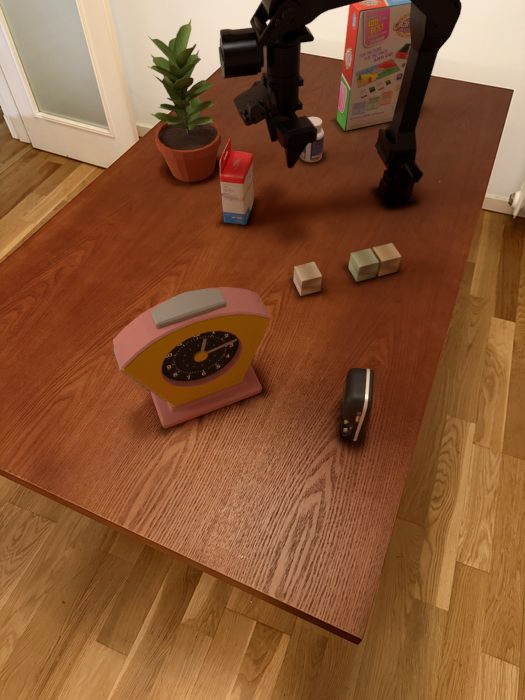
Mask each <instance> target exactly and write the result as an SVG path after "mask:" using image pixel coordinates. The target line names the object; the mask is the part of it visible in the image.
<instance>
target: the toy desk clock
mask: <svg viewBox="0 0 525 700" xmlns="http://www.w3.org/2000/svg"><path fill="white" fill-rule="evenodd" d="M271 320H272V316H271V314H270V313H269V311H268V309H267V307H266V306H265V303H264V302H263V301H262V298H261V297H260V295H259V293H258V292H257V291H253V290H249V289H246V288H242V287H241V288H240V287H234V286H233V287H232V286H219V287H217V286H216V287H208V288H207V287H206V288H202V289H195V290H189V291H185V292H182V293H180V294H177V295H174V296H173V297H170V298H168V299H166V300H164V301H161V302H159V303H157V304H155V305H154V306H152V307H150V308H149V309H147V310H145V311H143V312H142V313H140V314H139V315H138V316H137V317H135V319H134V318H133V320H132V321H131V322H129V323H128V324H127V325H126V326H125V327H123V328H122V329H121V331H120V332H119V333H118V334H117V335H116V336H115V337H114V338H113V339H112V343H113V353H114V356H115V358H116V359H115V360H116V362H117V366H118V368H119V371H121V372H122V373H123V374H125V375H126V376H128V378H131V379H132V380H133V381H135V382H136V383H138V384H139V385H141V386H143V388H145V389H146V390H147V391H149V393H150V395H151V398H152V401H153V404H154V406H155V409H156V412H157V415H158V417H159V421H160V424H161V427H162V428H164V429H169V428H171V427H173V426H176V425H179V424H181V423H185V422H187V421H189V420H192V419H194V418H197V417H200V416H203V415H205V414H208V413H211V412H214V411H216V410H218V409H221V408H223V407H226V406H229V405H231V404H234V403H237V402H239V401H242V400H245V399H247V398H250V397H253V396H255V395H258V394H260V393H261V392H262V391H263V386H262V384H261V382H260V381H259V378H258V376H257V374H256V373H255V370H254V368H253V367H252V364H251V363H252V361H253V359H254V357H255V354H256V352H257V350H258V348H259V346H260V343H261V341H262V340H263V337H264V334H265V332H266V331H267V328H268V327H269V324H270V322H271Z"/></svg>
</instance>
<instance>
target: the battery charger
mask: <svg viewBox="0 0 525 700" xmlns="http://www.w3.org/2000/svg"><path fill="white" fill-rule="evenodd" d="M374 387H375V371H374V370H373V369H370V368H362V367H352V368H350V369H348V371H347V373H346V375H345V379H344V383H343V388H342V396H341V397H342V399H341V406H340V414H341V423H340V424H341V425H340V435H341V437H342V438H344V439H346V440H349V441H353V442H360V441H361V440H362V438H363V434H364V432H365V428H366V426H367V423H368V420H369V418H370V414H371V411H372V407H373V402H374V401H373V400H374Z"/></svg>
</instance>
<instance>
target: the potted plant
mask: <svg viewBox="0 0 525 700" xmlns="http://www.w3.org/2000/svg"><path fill="white" fill-rule="evenodd" d="M191 32H192V19H189V22H188V23H187V24H183V25H181V26H180V27H179V29H178V31H177V32H176V36H175V37H174V38H171V39H170V40H169V41H168V45H167V44H166V43H165V42H164V41H162V40H161V39H158V38H152V37H150V36H149V35H147V36H148V38H149V40H151V42H153V44H154V45H155V46H156V47H157V48H158V49H159V50H160V52H161V53H163V55H164V56H165V57H166V58H165V57H163V56H154V55H153V54H150V56H151V57H152V62H153V65H151V66H148V68H149V69H151V70H153V71H155V72H157V73H159V74H161V75H162V76H163V78H162V79H161V78H160V77H158V76H155V75H154V74H152V76H154V77H155V78H156V79H157V80H158V81H159V82H160V83H161V84H162V85H163V87H164V90H165V91H166V93H167V95H168V97H166V99H167V100H168V101H170V102H172V103H173V104H169V103H161V104H159V107H157V108H159V109H161V110H166V111H171V112H174V113H175V114H176V115H175V116H174V115H172V114H169V113H166V112H162V111H161V112H160V111H159V112H156V113H155V114H153V113H150V115H151V116H153V117H154V118H155V119H157V120H159V121H161V122H163V123H162V124H161V125H159V126H158V127H157V129H156V130H155V132H154V133H155V134H154V140H155V145H156V148H157V150H158V151H159V153H161V154H162V156H163V158H164V160H165V162H166V164H167V166H168V168H169V171H170V172H171V174H172V176H173V177H174V178H175V179H177V180H178V181H182V182H187V183H188V182H189V183H191V182H199V181H204V180H206V179H207V178H209V177H210V176H211V175H212V174H213V173H214V171H215V168H216V162H217V156H218V151H219V148H220V146H221V145H222V133H221V127H220V126H219V124H218V123H217V122H216V121H214V120H213V118H212V117H211V116H201V113H202V112H203V111H205V110H207V109H209V108H212V107H214V106H215V105H218V102H215V103H214V102H213V100H206V101H203V102H202V100H200V95H201V94H203V93H205V92H206V91H208V90H210V89H211V88H212V87H214V85H216V82H215V83H213V84H211V83H210V82H209V81H207V80H206V79H202V80H199V81H198V82H196V83H195V84H194V77H191V76H192V74H193V72H194V69H195V67H196V65H197V64H199V62H200V61H201V60H202V58H201V57H199V52H200V50H197V52H196V53H195V54H194V53H193V52H194V50H195V48H196V47H197V43H194V44H193V46H191V47H188V43H189V39H190V36H191ZM187 47H188V48H187ZM189 88H190V89H189Z"/></svg>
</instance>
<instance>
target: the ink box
mask: <svg viewBox="0 0 525 700" xmlns="http://www.w3.org/2000/svg"><path fill="white" fill-rule="evenodd" d="M219 181H220V182H219V183H220V191H221V192H220V193H221V202H222V213H223V222H224V223H226V224H234V225H244V226H246V225H247V223H248V219H249V216H250V215H251V211H252V208H253V205H254V202H255V195H254V153H252V152H247V151H239V150H232V138H228V141H227V143H226V145H225V148H224V150H223V151H222V154H221V157H220V159H219Z"/></svg>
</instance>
